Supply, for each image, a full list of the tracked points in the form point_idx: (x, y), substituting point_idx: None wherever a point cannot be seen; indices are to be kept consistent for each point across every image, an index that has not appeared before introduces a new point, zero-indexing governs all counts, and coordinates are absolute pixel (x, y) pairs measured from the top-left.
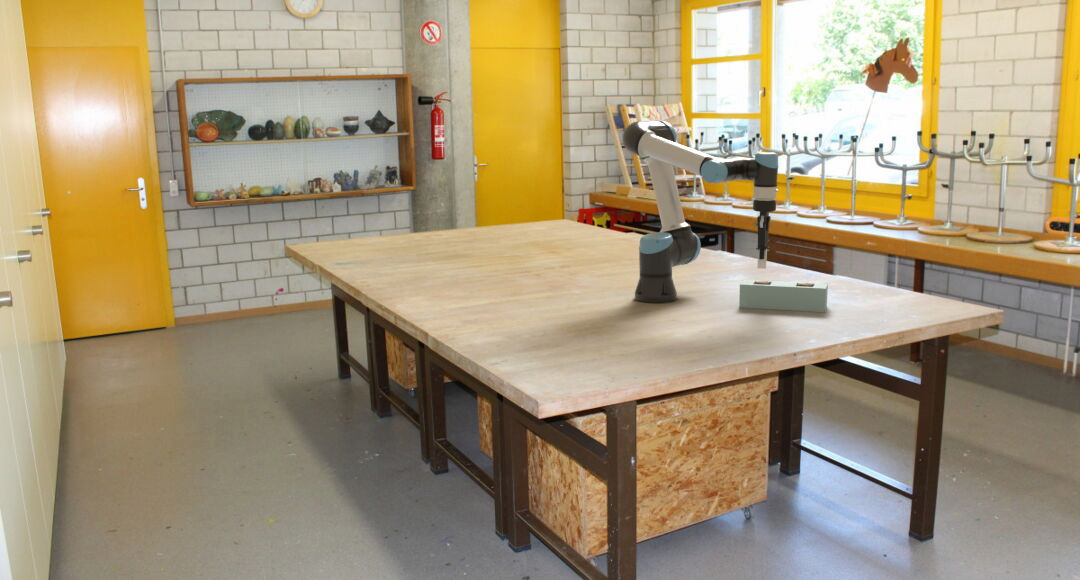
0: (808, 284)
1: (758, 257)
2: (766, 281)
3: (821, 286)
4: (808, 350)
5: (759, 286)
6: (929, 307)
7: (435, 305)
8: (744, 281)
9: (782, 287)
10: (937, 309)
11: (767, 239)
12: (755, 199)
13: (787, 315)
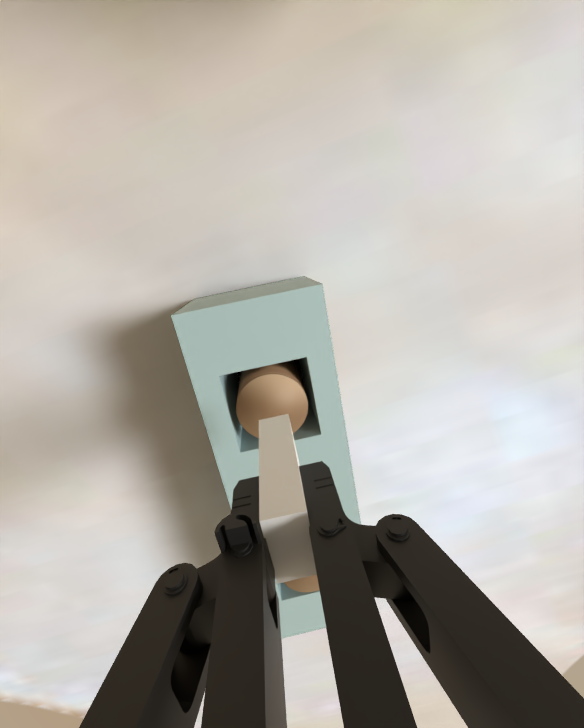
0: (309, 581)
1: (259, 471)
2: (298, 418)
3: (306, 618)
4: None
5: (202, 413)
6: (441, 702)
7: None
8: (267, 308)
9: (231, 506)
10: (425, 717)
11: (423, 655)
12: None
13: (173, 486)
